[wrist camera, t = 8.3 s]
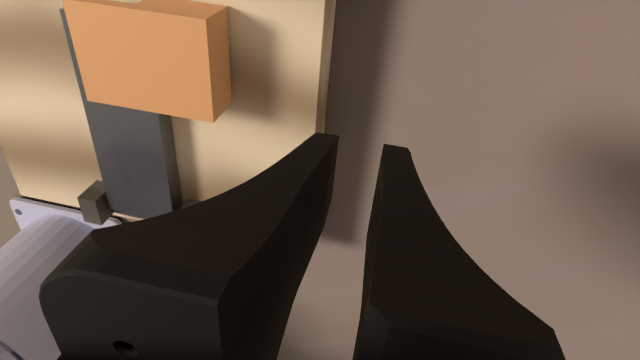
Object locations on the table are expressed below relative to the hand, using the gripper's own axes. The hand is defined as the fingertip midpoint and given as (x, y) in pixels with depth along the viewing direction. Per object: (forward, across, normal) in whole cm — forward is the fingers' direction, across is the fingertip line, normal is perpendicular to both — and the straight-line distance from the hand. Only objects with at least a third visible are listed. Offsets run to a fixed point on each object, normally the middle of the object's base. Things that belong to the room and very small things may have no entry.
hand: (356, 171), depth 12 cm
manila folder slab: (+6, +9, 0) cm, 11 cm away
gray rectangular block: (+6, +11, +4) cm, 13 cm away
